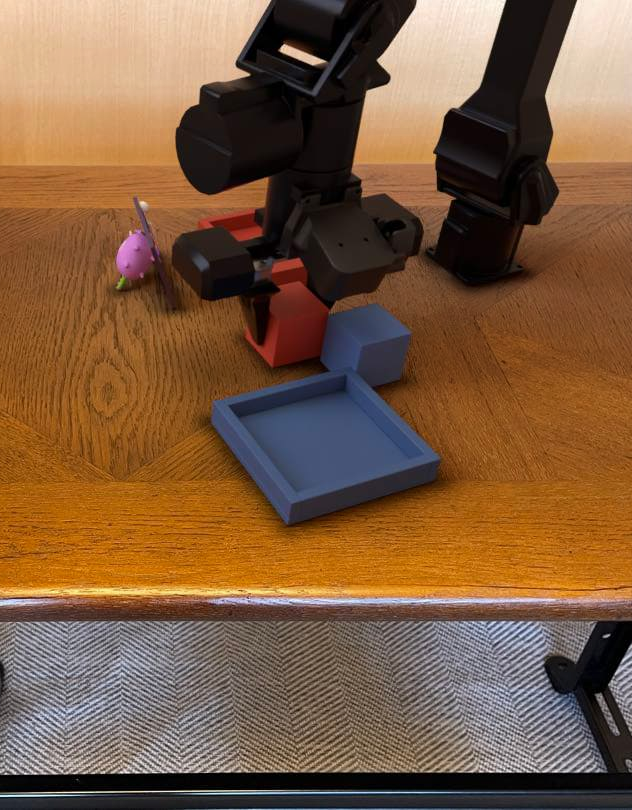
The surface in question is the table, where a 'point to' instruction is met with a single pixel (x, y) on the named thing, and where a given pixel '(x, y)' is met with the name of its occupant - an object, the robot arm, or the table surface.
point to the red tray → (246, 229)
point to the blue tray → (323, 444)
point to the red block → (293, 326)
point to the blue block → (366, 343)
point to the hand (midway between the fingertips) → (284, 336)
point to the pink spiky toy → (140, 253)
